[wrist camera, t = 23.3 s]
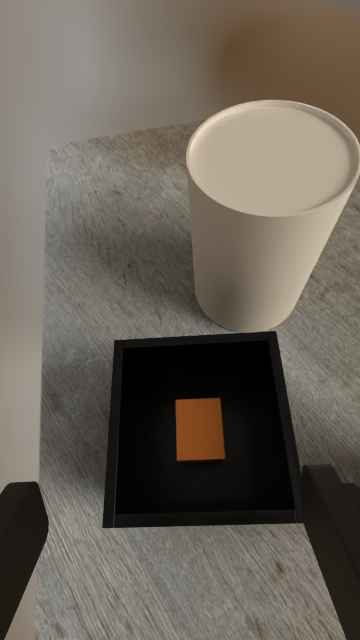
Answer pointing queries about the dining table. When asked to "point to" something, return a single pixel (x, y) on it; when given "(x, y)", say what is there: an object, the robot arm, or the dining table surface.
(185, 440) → the block
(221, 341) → the bin
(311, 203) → the canister
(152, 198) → the dining table surface
